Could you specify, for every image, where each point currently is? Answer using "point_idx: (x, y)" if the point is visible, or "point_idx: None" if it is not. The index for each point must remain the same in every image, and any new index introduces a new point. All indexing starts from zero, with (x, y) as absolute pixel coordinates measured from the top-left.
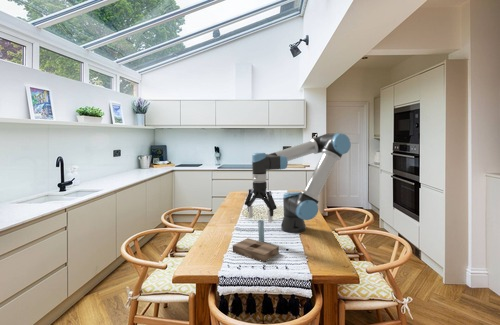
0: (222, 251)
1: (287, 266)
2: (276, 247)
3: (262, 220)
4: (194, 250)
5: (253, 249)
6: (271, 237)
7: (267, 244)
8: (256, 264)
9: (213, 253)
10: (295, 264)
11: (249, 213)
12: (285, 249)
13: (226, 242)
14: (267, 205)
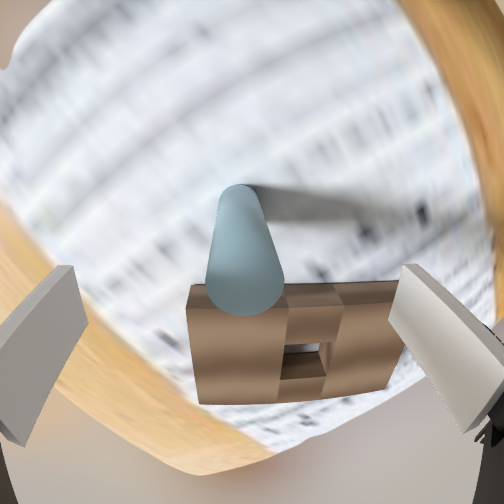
0: (158, 387)
1: None
2: None
3: (254, 261)
4: (83, 409)
5: (320, 387)
6: (243, 83)
7: (360, 314)
8: None
9: (149, 407)
10: None
11: (61, 366)
12: (415, 217)
13: None
14: (485, 497)
